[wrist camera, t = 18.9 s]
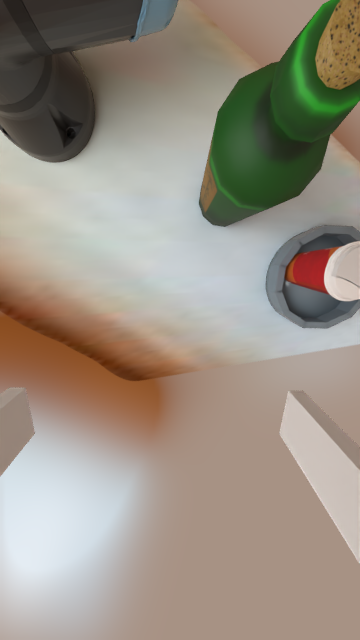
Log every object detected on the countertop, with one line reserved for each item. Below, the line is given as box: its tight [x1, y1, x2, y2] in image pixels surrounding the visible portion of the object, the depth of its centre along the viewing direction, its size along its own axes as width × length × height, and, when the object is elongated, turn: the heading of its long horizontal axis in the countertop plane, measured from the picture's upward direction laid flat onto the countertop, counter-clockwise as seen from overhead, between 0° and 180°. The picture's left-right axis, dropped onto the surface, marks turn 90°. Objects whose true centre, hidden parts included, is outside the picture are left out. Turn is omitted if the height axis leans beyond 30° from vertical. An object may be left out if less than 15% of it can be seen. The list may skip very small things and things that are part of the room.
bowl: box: [266, 225, 360, 328], centre depth 38 cm, size 18×18×4 cm
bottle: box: [199, 0, 360, 227], centre depth 23 cm, size 11×11×28 cm
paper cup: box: [284, 241, 360, 301], centre depth 32 cm, size 8×8×14 cm
